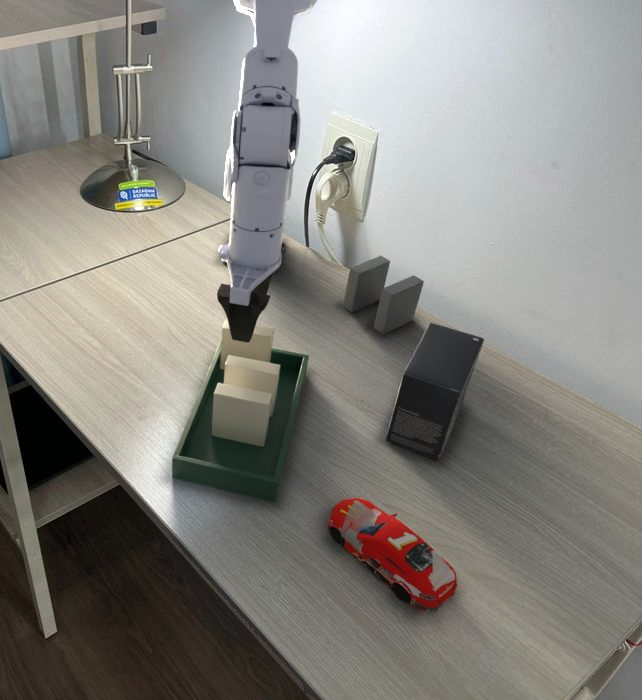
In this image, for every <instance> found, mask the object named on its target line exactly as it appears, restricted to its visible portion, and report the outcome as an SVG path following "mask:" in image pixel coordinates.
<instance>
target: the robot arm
mask: <svg viewBox="0 0 642 700" xmlns="http://www.w3.org/2000/svg"><path fill="white" fill-rule="evenodd" d="M317 2H318V0H233V3H234V6H235V7H236V11H237V12H239V13H243V14H245V15H248V16H250V18H251V20H252V23H253V26H254V42H253V48H251V49H250V50H249V51H248V52H247V53H246V54H245V56H244V58H243V61H242V67H241V77H240V78H241V79H240V90H239V100H238V101H239V102H238V111H237V109H235V110H234V112H233V116H232V124H231V134H230V146H229V149H228V150H227V154H226V161H225V170H224V178H223V179H224V180H223V181H224V182H223V197H224V198H225V199H226V201H229V202H230V222H229V223H230V225H229V238H228V239H229V243H228V244H222V245H220V246H219V248H218V250H217V258H218V259H221V261H222V262H224V263H227V268H228V273H229V278H230V282H231V284H226V283H219V284H220V285H219V287H218V289H217V291H216V297H217V302H218V304H220V306H221V307H222V310H223V311H224V313H225V316H226V320H228V323H229V328H230V333H231V337H232V339H233V340H236V341H242V342H247V343H249V342H250V340H251V338H252V335H253V332H254V329H255V326H256V325H257V322H258V319H259V317H260V315H261V314H262V312H263V311H264V310H265V309H266V308H267V306H268V304H269V302H270V299H271V296H272V295H271V294H268V292H269V289H270V285H271V282H272V279H273V277H274V274H275V272H276V271H277V270H278V269H279V268H280V266H281V264H282V262H283V260H284V258H285V255H286V248H284V247H283V246H282V244H283V234H284V227H285V226H284V225H285V220H286V219H285V217H286V209H287V204H288V203H289V202H290V200H291V196H292V188H293V179H294V178H293V177H294V167H295V163H296V161H297V158H298V153H299V147H300V146H299V145H300V137H301V123H302V122H301V120H302V119H301V113H300V104H299V103H300V102H299V101H300V100H299V98H297V94H298V93H297V92H298V76H299V75H298V73H299V61H298V58H297V56H296V54H295V52H294V51H292V49H290V48H289V45H290V44H289V43H290V38H291V32H292V27H293V21H294V19H295V18H298V17H301V16H305V15H309V14H311V13H310V12H311V11H312V10H313V8H314V7H315V5H316V4H317Z"/></svg>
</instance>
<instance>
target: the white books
mask: <svg viewBox="0 0 642 700" xmlns="http://www.w3.org/2000/svg"><path fill="white" fill-rule="evenodd" d="M280 366H281V365H278V364H273V363H268V362H263V361H258V360H252V359H247V358H242V357H237V356H232V355H228V358H227V361H226V363H225V372H224V384H221V383H218V384H217V387H216V389H215V392H214V401H213V419H212V436H216V437H221V438H225V439H230V440H234V441H239V442H243V443H248V444H252V445H257V446H261V447H264V445H265V441H266V437H267V431H268V423H269V416H271V417H272V416H273V412H274V408H275V403H276V395H277V388H278V380H279V373H280Z"/></svg>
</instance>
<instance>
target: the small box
mask: <svg viewBox="0 0 642 700" xmlns="http://www.w3.org/2000/svg"><path fill="white" fill-rule="evenodd" d="M484 342H485V338H484V337H482V336H478V335H475V334H472V333H469V332H464V331H461V330H458V329H454V328H451V327H447V326H444V325H441V324H438V323H434V322H429V324H428V326H427V327H426V330H425V331H424V333H423V335H422V337H421V339H420V341H419V343H418V345H417V346H416V349H415V350H414V352H413V354H412V356H411V358H410V360H409V362H408V364H407V365H406V367H405V369H404V371H403V374H402V376H401V379H400V383H399V386H398V389H397V390H398V391H397V394H396V397H395V398H396V399H395V402H394V406H393V409H392V412H391V413H392V414H391V417H390V421H389V425H388V429H387V433H386V437H385V441H386V442H388V443H390V444H393V445H396V446H398V447H401V448H404V449H406V450H409V451H411V452H414V453H416V454H419V455H421V456H424V457H427V458H429V459H431V460H434V461H440V459H441V457H442V455H443V453H444V450H445V448H446V445H447V443H448V441H449V438H450V436H451V433H452V431H453V428H454V427H455V424H456V422H457V420H458V417H459V414H460V412H461V409H462V408H463V403H464V400H465V397H466V394H467V391H468V387H469V385H470V381H471V378H472V375H473V373H474V370H475V367H476V364H477V361H478V358H479V356H480V354H481V350H482V348H483V344H484Z"/></svg>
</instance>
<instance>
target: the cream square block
mask: <svg viewBox="0 0 642 700" xmlns="http://www.w3.org/2000/svg"><path fill="white" fill-rule="evenodd" d="M274 334H275V327H268V326H262V325H257V324H256V326H255V329H254V332H253V335H252V338H251V340H250V342H249V343H247V342H242V341H236V340H233V339H232V337H231V333H230V328H229V323H228V319H225V321H224V323H223V325H222V328H221V339H222V341H221V357H220V369H223V370H225V363H226V361H227V358H228V355H232V356H237V357H242V358H247V359H252V360H258V361H263V362H268V363H270V360H271V351H272V348H273V342H274Z"/></svg>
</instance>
